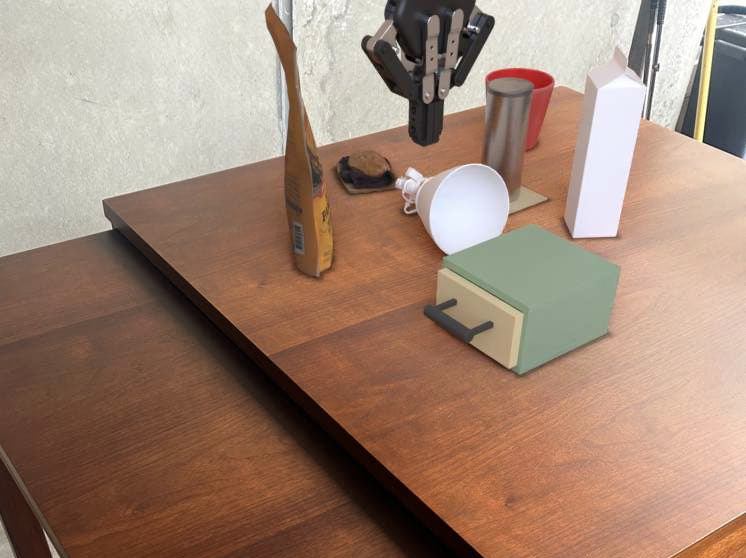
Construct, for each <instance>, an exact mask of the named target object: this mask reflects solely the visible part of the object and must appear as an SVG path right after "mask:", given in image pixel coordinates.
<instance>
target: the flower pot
mask: <svg viewBox="0 0 746 558" xmlns="http://www.w3.org/2000/svg"><path fill="white" fill-rule="evenodd" d="M506 77H513V78H521V79H525V80H528V81H530V82H532V83H533V85H534V88H533V92H532V98H531V106H530V115H529V123H528V131H527V139H526V148H525V151H527V150H530V149H532V148H533V147H536V145H537V143H538V139H539V136H540V134H541V130H542V127H543V124H544V121H545V119H546V115H547V112H548V108H549V105H550V102H551V98H552V94H553V92H554V88H555V85H556V81H555V78H554V77H553V76H552V75H551V74H549V73H548V72H545V71H543V70H539V69H534V68H528V67H527V68H525V67H507V68H501V69H496V70H493V71H491V72H489V73H487V75H486V76H485V81H484V83H485V100H486V99H487V84H488V82H490V81H491V80H494V79H498V78H506Z"/></svg>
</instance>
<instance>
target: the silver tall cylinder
mask: <svg viewBox="0 0 746 558" xmlns="http://www.w3.org/2000/svg"><path fill="white" fill-rule="evenodd" d="M533 88H534V85H533V83H532V82H530V81H528V80H525V79H521V78H513V77H506V78H498V79H494V80H491V81H490V82H488V84H487V99H486V98H485V111H484V123H483V135H482V145H481V146H482V147H481V159H480V164H483V165H486V166H489V167H490V168H492V169H494V170H495V171H496V172H497V173H498V174H499V175H500V176H501V178H502V179H503V181H504V183H505V185H506V188H507V190H508V196H509V203H511V202H514V201H516V200H517V199H518V198H519V196H520V189H521V186H522V180H523V172H524V163H525V156H526V150H525V148H526V139H527V131H528V123H529V115H530V106H531V98H532V92H533Z"/></svg>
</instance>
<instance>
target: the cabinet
mask: <svg viewBox="0 0 746 558" xmlns="http://www.w3.org/2000/svg"><path fill="white" fill-rule="evenodd" d="M443 268H448V269H449V270H451V271H453V272H454V273H456V274H458V275H459V276H460V275H461V276H463V277H465V278H466V279H468V280H470V281H471V282H473V283H475V284H476V285H478V286H480V287H481V288H483V289H485V290H487V291H488V292H490V293H492V294H493V295H495V296H497V297H498V298H500V299H502V300H503V301H505V302H507V303H509V304H510V305H512V306H514V307H515V308H517V309H519V310H520V311H522V313H524V316H523V324H522V331H521V338H520V345H519V352H518V360H517V365H516V366H514V367H512V368H510V369H509V370H511V371H513V372H514V373H516V374H518V376H520V375H523V374H525V373H527V372H529V371H531V370H534V369H536V368H538V367H539V366H542V365H544V364H546V363H549V362H550V361H552V360H554V359H556V358H559V357H560V356H562V355H565V354H567V353H569V352H571V351H573V350H576V349H577V348H579V347H581V346H583V345H586V344H588V343H591V342H592V341H595V340H597V339H598V338H601V337H602V336H605V335H607V334H608V330H609V326H610V321H611V316H612V313H613V312H612V311H613V307H614V303H615V299H616V294H617V290H618V284H619V280H620V275H621V271H622V267H621V266H619V265H617V264H616V263H613V262H611V261H609V260H608V259H605V258H603V257H601V256H599V255H597V254H595V253H593V252H592V251H590V250H587V249H585V248H583V247H581V246H579V245H578V244H576V243H573V242H571V241H570V240H568V239H565V238H563V237H561V236H560V235H557V234H555V233H553V232H551V231H550V230H547V229H545V228H543V227H541V226H539V225H538V224H535V223H534V222H531V223H529V224H526V225H524V226H520V227H519V228H515V229H514V230H510V231H508V232H505V233H503V234H501V235H500V236H497V237H495V238H492V239H490V240H487V241H485V242H482V243H479V244H477V245H474V246H472V247H469V248H466V249H464V250H461V251H459V252H456V253H453V254H451V255H448V254H447V255H446V256H443V257H442V269H443Z"/></svg>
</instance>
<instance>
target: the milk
mask: <svg viewBox="0 0 746 558" xmlns="http://www.w3.org/2000/svg"><path fill="white" fill-rule="evenodd" d="M628 64H629V57H628V56H627V55H626V53H624V51H623V50H622V49H621V48H620V46H619V45H618V44H616V45H615V47H614V51H613V57H611V58H609V59H608V60H607V61H605V62H604V63H602V64H600V65H599V66H597V67H595V68H594V69H592V70H591V71H589V72H588V73H586V74H587V75H586V80H585V85H584V93H583V98H582V104H581V110H580V112H581V113H580V116H579V117H580V118H579V123H578V129H577V135H576V141H575V147H574V154H573V160H572V167H571V172H570V179H569V185H568V191H567V198H566V203H565V210H564V215H563V220H564V222H565V224H566V226H567V229H568V231H569V233H570V235H571V238H572V239H587V238H589V239H590V238H615V237H617V234H618V229H619V225H620V220H621V215H622V210H623V207H624V201H625V197H626V192H627V186H628V181H629V178H630V177H629V176H630V172H631V167H632V162H633V157H634V152H635V148H636V143H637V139H638V133H639V128H640V124H641V119H642V114H643V109H644V105H645V101H646V95H647V90H648V87H647V85H646V84H645V83H644V82H643V80H642V79H641V77H640V76H639V75H638V74H637V73H636V71H635V70H633V69H632V68H631V67H629V66H628Z"/></svg>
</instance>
